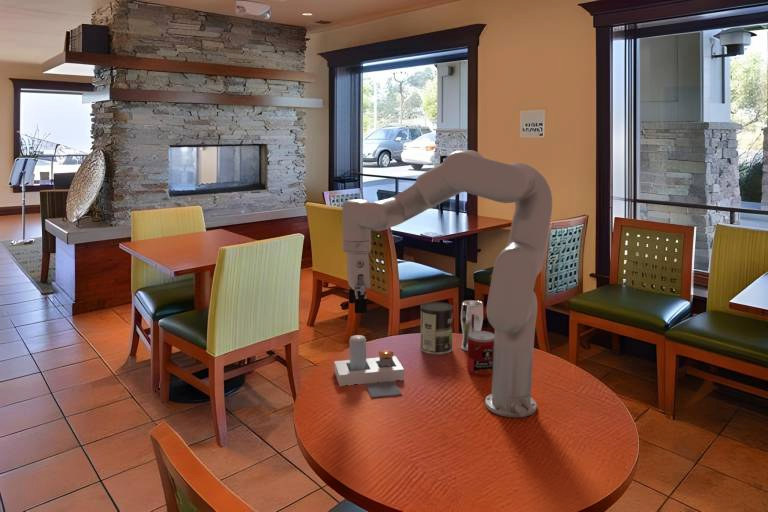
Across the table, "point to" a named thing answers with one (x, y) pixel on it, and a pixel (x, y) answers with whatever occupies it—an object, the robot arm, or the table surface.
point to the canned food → (480, 353)
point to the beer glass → (470, 319)
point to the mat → (383, 389)
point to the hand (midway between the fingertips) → (357, 307)
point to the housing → (368, 372)
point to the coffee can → (436, 327)
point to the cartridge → (357, 353)
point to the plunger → (385, 358)
